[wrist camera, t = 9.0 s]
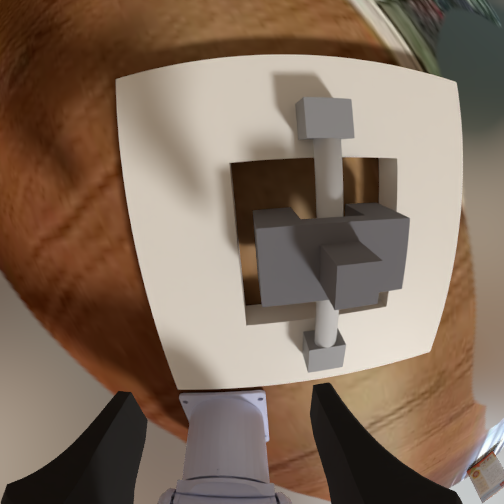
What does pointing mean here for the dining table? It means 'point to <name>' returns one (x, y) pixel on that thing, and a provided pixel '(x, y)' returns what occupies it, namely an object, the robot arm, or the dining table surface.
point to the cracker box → (487, 476)
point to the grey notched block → (330, 255)
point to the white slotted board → (327, 205)
